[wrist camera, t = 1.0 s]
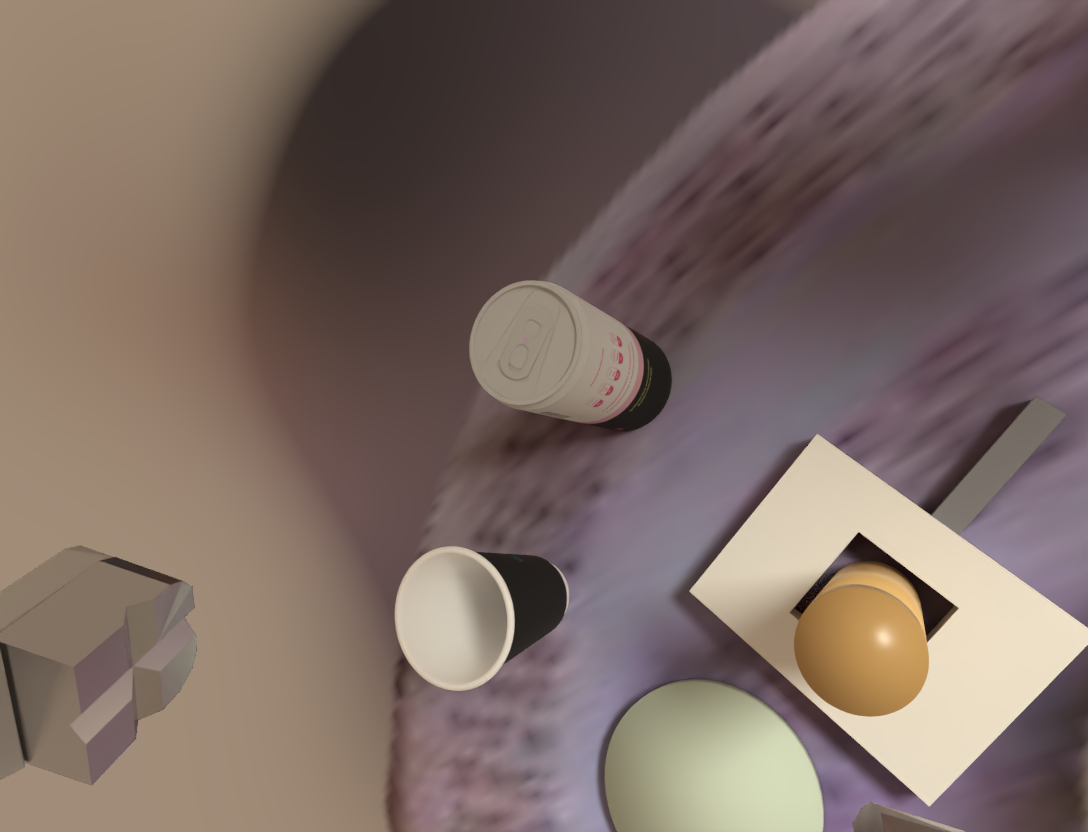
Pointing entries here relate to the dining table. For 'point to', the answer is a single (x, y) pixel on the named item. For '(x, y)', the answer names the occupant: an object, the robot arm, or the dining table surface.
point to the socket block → (936, 558)
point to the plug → (864, 641)
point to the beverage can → (566, 359)
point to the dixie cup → (475, 612)
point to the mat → (709, 765)
